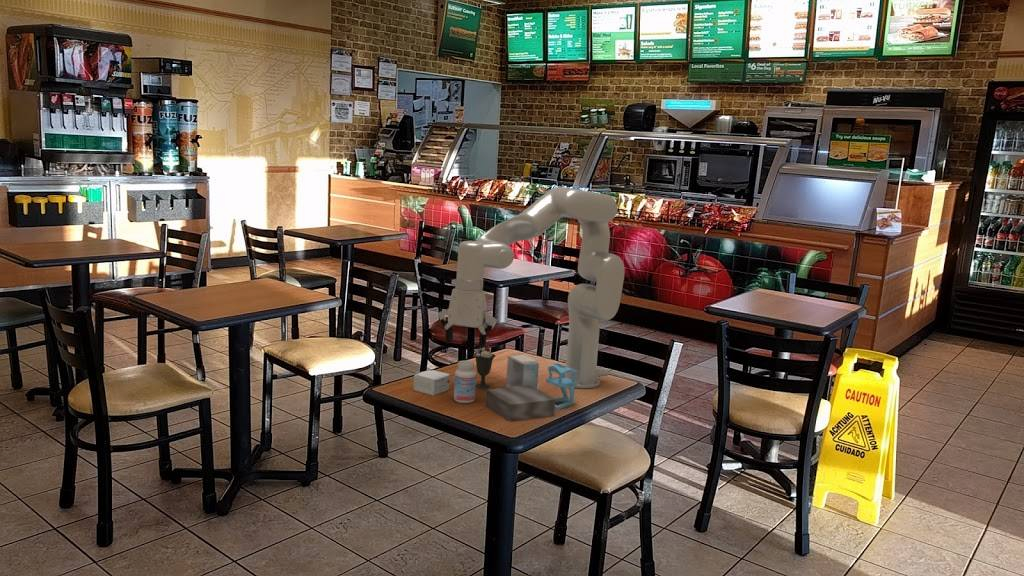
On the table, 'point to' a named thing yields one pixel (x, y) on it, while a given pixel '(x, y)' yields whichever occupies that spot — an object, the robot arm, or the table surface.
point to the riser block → (520, 402)
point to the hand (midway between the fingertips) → (465, 344)
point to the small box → (431, 382)
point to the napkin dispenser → (522, 371)
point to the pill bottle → (465, 382)
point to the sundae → (483, 364)
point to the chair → (562, 383)
